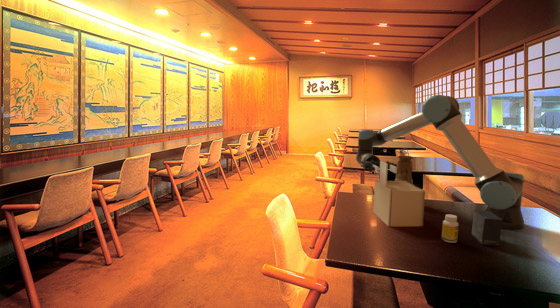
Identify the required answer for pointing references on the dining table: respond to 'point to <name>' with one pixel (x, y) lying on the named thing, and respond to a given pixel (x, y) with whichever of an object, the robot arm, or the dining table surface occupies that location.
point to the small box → (486, 227)
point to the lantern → (404, 168)
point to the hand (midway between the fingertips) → (387, 170)
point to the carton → (406, 204)
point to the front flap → (382, 195)
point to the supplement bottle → (450, 228)
